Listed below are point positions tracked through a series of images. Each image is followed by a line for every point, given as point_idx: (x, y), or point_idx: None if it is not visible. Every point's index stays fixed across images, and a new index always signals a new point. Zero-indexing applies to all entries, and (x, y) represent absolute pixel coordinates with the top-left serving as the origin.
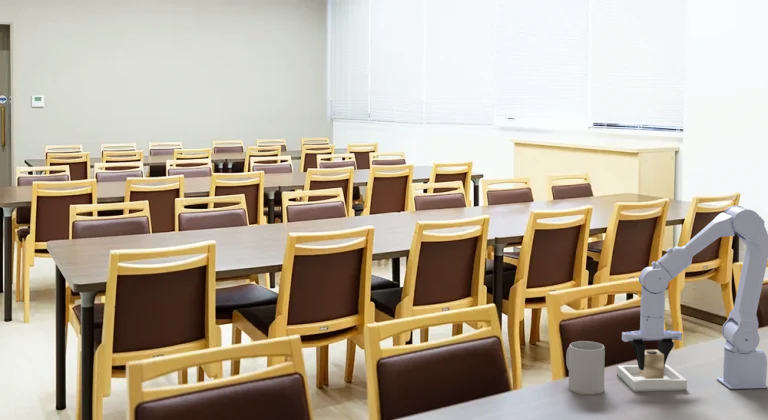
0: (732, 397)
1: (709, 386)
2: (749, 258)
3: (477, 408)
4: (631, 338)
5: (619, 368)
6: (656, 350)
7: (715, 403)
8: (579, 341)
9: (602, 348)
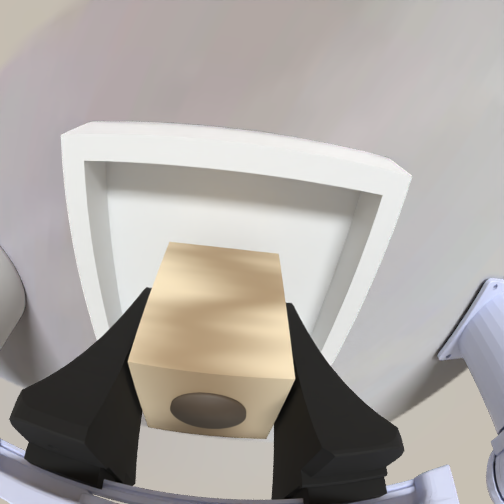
0: (388, 393)
1: (415, 329)
2: None
3: None
4: (28, 471)
5: (65, 182)
6: (272, 390)
7: None
8: None
9: None
